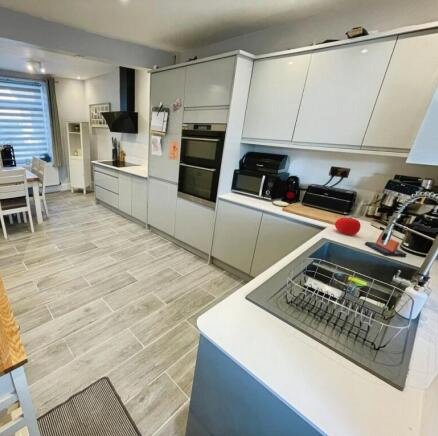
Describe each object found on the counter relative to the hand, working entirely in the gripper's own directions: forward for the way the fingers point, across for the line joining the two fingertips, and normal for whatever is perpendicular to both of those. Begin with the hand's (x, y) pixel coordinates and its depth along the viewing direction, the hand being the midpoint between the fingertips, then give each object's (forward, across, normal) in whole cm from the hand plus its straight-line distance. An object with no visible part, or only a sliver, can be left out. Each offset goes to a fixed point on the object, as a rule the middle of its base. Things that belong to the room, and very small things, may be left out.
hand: (404, 225), depth 141 cm
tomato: (+13, +22, -16) cm, 30 cm away
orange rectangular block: (+8, -3, -14) cm, 16 cm away
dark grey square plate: (+8, -3, -16) cm, 18 cm away
